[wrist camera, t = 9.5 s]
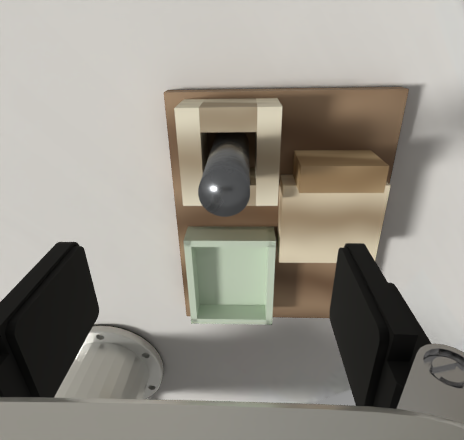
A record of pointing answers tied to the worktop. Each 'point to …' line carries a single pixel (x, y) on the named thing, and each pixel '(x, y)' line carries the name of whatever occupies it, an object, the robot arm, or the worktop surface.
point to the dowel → (226, 175)
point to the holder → (230, 120)
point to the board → (296, 132)
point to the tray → (230, 274)
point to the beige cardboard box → (326, 222)
